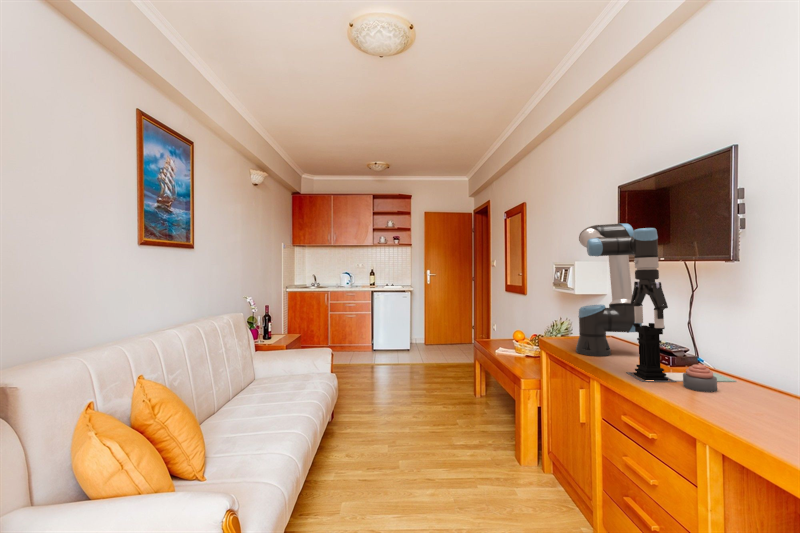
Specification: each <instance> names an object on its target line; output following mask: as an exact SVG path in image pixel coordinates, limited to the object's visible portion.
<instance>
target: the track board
mask: <svg viewBox="0 0 800 533" xmlns="http://www.w3.org/2000/svg"><path fill="white" fill-rule="evenodd" d="M633 372H634V371H627V372H625V373H626V374H627V375H629V376H630V377H633V378H635V379H636V380H637V381H640V382H641V383H677V382H678V383H679V382H680V383H681V382H682V383H683V373H684V372H664V373H665V374H666V376H664V377H666V378H668V381H645V380H643V379H641V378H639V377H637V376H635V375H633ZM713 376H714V377H716V378H717V383H737V380H735V379H733V378H730V377H728V376H725V375H722V374H719V373H716V372H713Z"/></svg>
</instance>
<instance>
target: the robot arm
mask: <svg viewBox="0 0 800 533" xmlns="http://www.w3.org/2000/svg"><path fill="white" fill-rule="evenodd" d="M658 239H659V236H658V231H657V229H656V228H655V227H645V228H644V227H643V228H637V229H634V228H633V227H632V225H631V224H629V223H620V222H619V223H609V224H595V225H591V226H588V227H586V228H584V229H583V230H582V231H581V232H580V233H579V235H578V241H579V244H580V245H582V246H583V248H586V252H587V255H588V256H589V257H606V256H608V265H609V267H608V268H609V276H610V278H609V280H610V289H611V302H610V303H608V307H606V305H605V304H588V305H584V306H581V307H580V308H579V309H578V325H579V327H578V329H579V330H578V332H579V333H578V334H579V337H578V339H577V342H576V345H575V353H577V354H579V353H580V355H583V354H584V356H591V357H607V356H610V355H612V353H611V351H612V349H611V347H610V344H609V342H608V339H607V333H636V332H635V327H634V326H633V323H639V324H640V326H641V325H643V323H644V312H643V310H644V309H643V308H644V307H643V302H644V300H645V298H646V295H647V296H649V298H650V301H651V302H652V304H653V307H654V308H653V315H654V316H653V317H654V318H653V320H654V321H653V323H655V328H664V326H665V320H664V319H665V318H664V310H665V309H668V307H669V306H668V303H667V300H666V297H665V294H664V291H663V286H662V282H661V281H656V280H659V279H660V274H659V273H660V271H659V269H658V268H659V266H660V265H659V248H658V247H659V243H658ZM630 256H634V260H633V263H634V268H635V271H634V279H635V280H637V281H634V282H633V288H632V278H631V270H630V269H631V266H630Z"/></svg>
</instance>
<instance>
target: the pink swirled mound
mask: <svg viewBox="0 0 800 533" xmlns="http://www.w3.org/2000/svg"><path fill="white" fill-rule="evenodd" d="M685 373H686V374H687V375H689V376H692V377H697V378H713V373H714V371H711V370H710V368H708V367H707V366H706V365H704V364H692V365H691V366H688V368H686V369H685Z"/></svg>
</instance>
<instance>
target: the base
mask: <svg viewBox="0 0 800 533" xmlns="http://www.w3.org/2000/svg"><path fill="white" fill-rule="evenodd" d="M682 373H683V382H682V386H683V388H686V389H688V390H690V391H695V392H696V391H697V392H700V393H701V392H702V393H716V392H717V391H718V382H717V378H716V377H714V376H713V378H697V377H692V376H689V375H687V374H686V372H682Z"/></svg>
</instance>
